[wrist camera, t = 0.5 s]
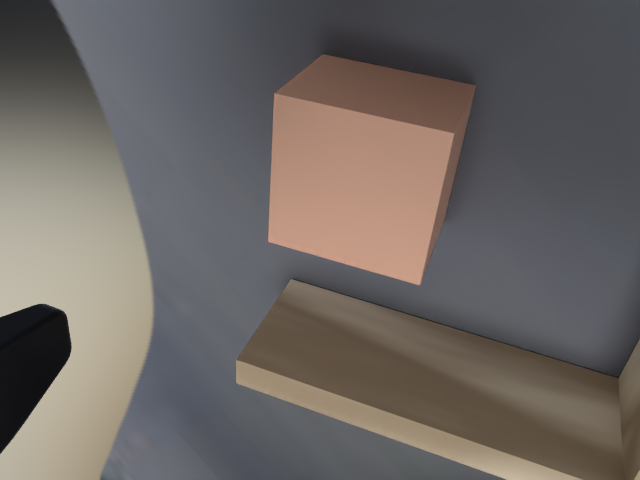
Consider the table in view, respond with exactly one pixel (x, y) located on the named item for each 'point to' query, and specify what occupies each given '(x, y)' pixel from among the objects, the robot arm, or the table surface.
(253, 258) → the table surface
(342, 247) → the terracotta block
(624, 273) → the table surface
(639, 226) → the table surface
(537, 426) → the open wooden frame
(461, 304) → the table surface
